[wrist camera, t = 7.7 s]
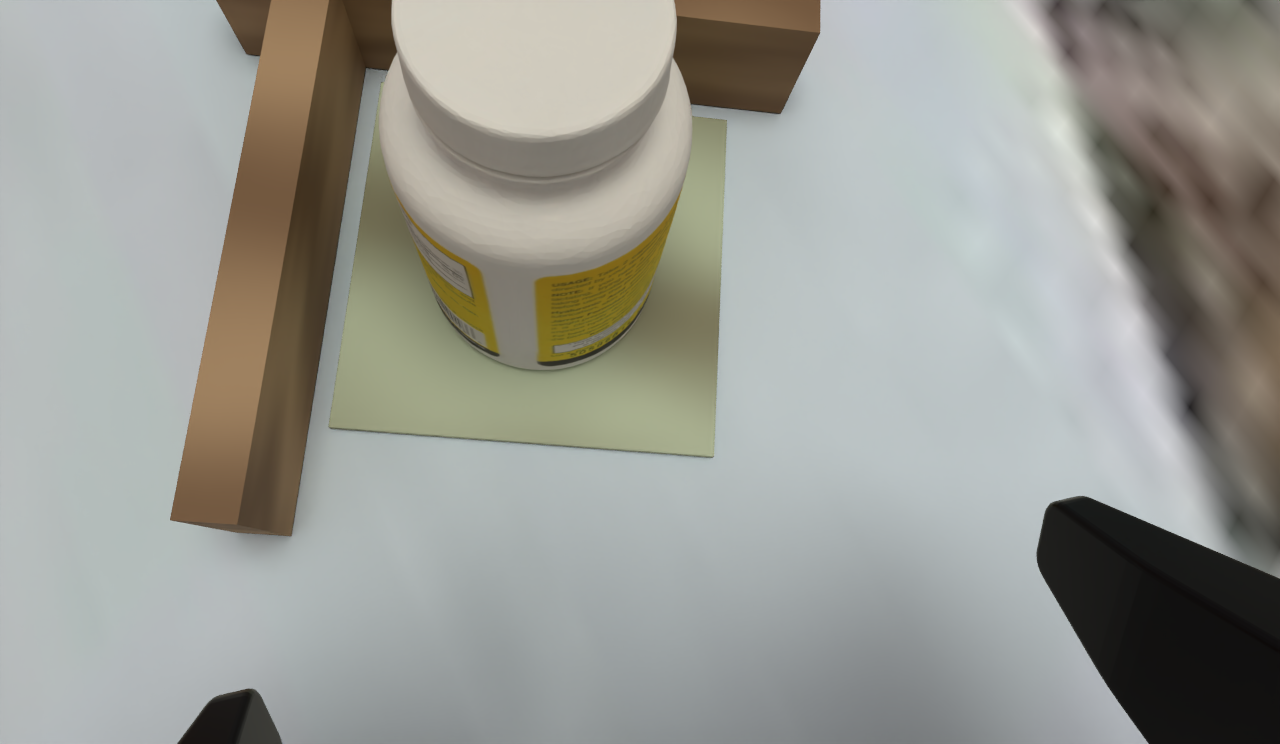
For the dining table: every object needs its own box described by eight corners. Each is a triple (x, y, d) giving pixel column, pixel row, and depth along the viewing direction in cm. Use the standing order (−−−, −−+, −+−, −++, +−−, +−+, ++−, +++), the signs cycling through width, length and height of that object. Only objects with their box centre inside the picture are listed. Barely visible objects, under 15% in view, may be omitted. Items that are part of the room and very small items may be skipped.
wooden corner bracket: (770, 567, 20) (815, 563, 17) (152, 527, 19) (67, 513, 16) (781, 74, 24) (820, -12, 20) (254, 13, 22) (202, -89, 19)
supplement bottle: (671, 197, 22) (763, -94, 13) (623, 398, 21) (687, 236, 11) (464, 145, 22) (402, -192, 12) (402, 343, 21) (279, 133, 11)
